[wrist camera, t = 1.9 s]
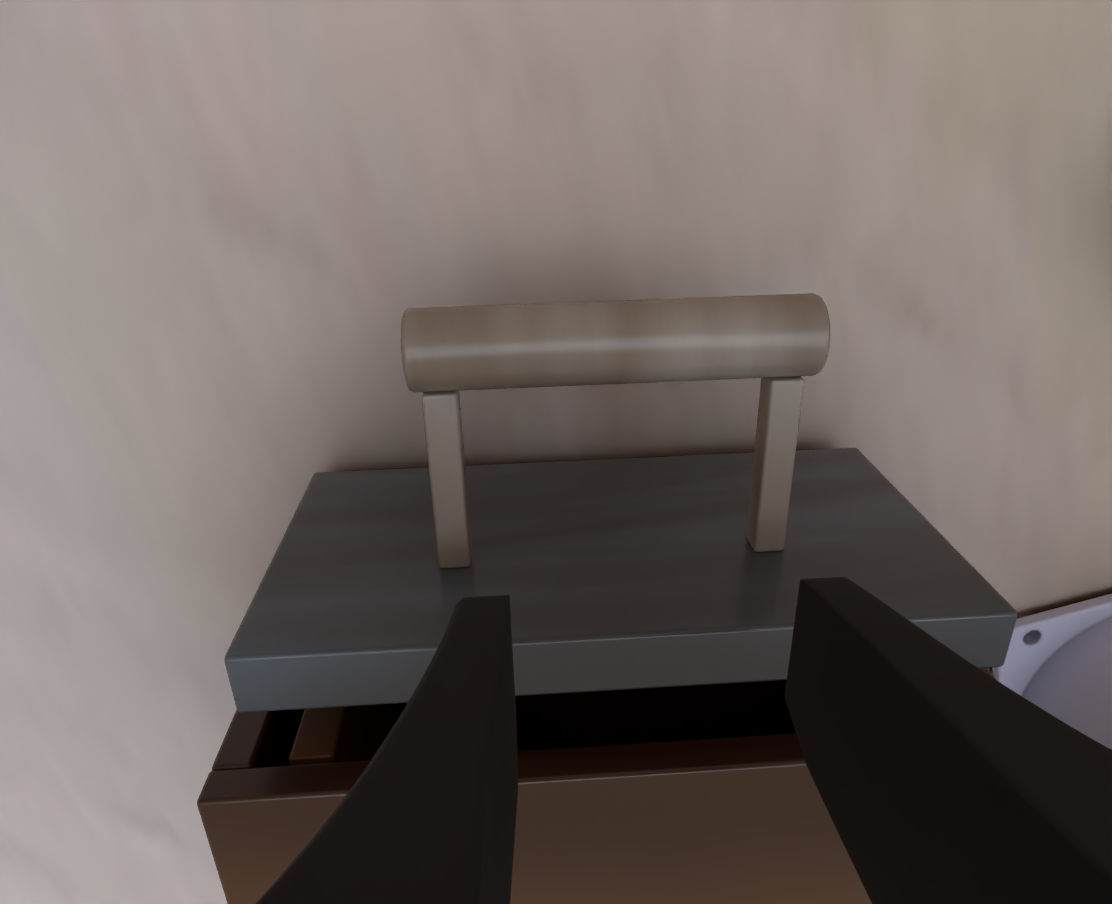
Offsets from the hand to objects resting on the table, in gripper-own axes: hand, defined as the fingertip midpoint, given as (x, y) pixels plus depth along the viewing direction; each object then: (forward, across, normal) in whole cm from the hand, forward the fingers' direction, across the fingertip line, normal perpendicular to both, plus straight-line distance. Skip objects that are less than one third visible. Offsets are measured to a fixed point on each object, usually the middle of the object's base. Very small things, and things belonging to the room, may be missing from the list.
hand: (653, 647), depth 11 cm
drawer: (+9, 0, +5) cm, 10 cm away
